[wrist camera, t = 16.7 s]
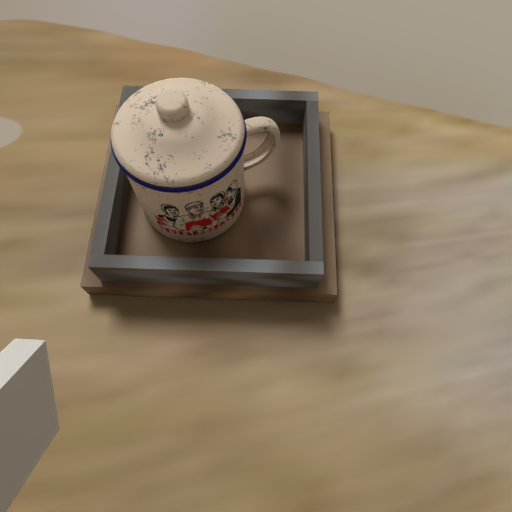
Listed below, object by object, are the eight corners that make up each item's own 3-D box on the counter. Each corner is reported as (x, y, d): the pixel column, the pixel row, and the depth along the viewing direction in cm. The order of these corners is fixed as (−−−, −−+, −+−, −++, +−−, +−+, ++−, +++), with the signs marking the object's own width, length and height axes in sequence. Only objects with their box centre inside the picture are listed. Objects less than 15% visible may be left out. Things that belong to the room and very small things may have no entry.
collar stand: (325, 126, 43) (334, 88, 38) (332, 302, 36) (345, 281, 31) (122, 119, 43) (106, 80, 38) (89, 294, 36) (65, 272, 31)
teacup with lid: (158, 262, 35) (116, 182, 24) (128, 172, 38) (79, 66, 27) (295, 214, 36) (314, 119, 26) (255, 132, 40) (257, 18, 29)
